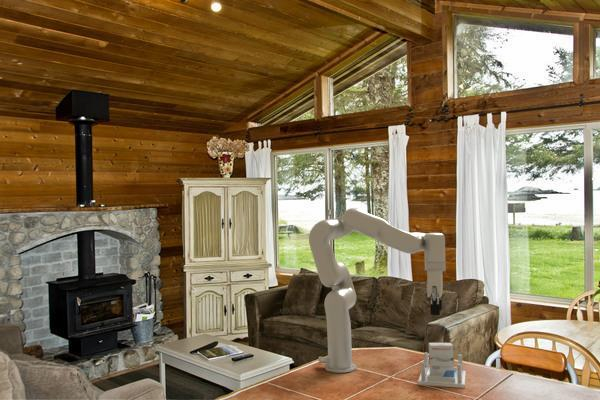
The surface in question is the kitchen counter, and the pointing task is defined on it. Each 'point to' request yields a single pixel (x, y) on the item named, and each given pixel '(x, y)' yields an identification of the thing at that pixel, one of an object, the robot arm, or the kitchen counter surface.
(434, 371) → the ink box
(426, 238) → the robot arm
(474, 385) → the kitchen counter surface
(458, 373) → the tray
